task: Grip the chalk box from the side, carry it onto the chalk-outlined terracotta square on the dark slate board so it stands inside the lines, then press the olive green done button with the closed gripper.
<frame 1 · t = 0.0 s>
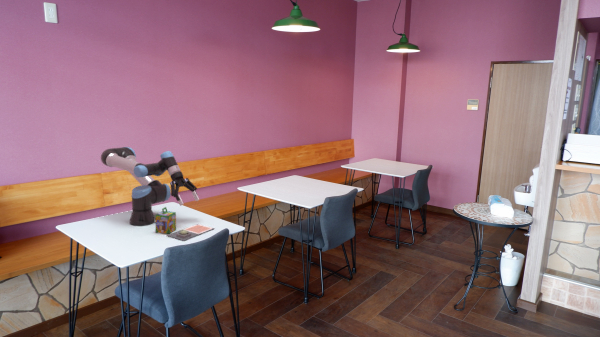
hand: (190, 202, 250), 15 cm above the table, tool tilted 35°, fingers open, 13 cm apart
chalk box: (166, 231, 241), on the table
done button: (183, 232, 232), point 3 cm above the table, slide at 0.0 cm
slate board: (191, 232, 240), on the table
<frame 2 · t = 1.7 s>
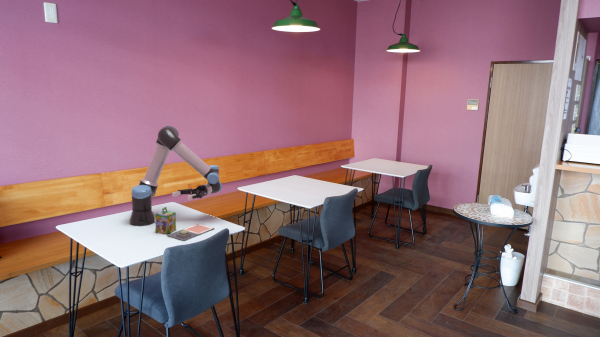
hand: (180, 196, 247), 20 cm above the table, tool horizontal, fingers open, 13 cm apart
nothing on the table moved.
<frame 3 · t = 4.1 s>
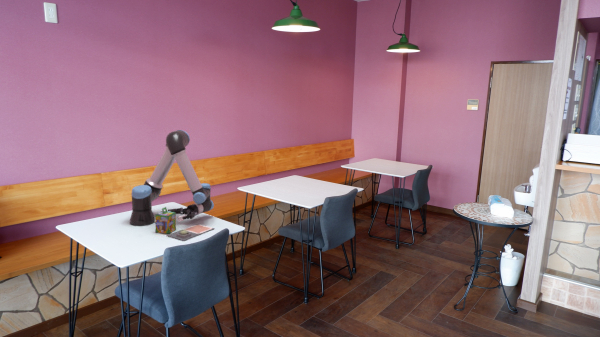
hand: (170, 217, 241), 8 cm above the table, tool horizontal, fingers open, 13 cm apart
chalk box: (166, 231, 241), on the table, touching gripper
everything else where it was.
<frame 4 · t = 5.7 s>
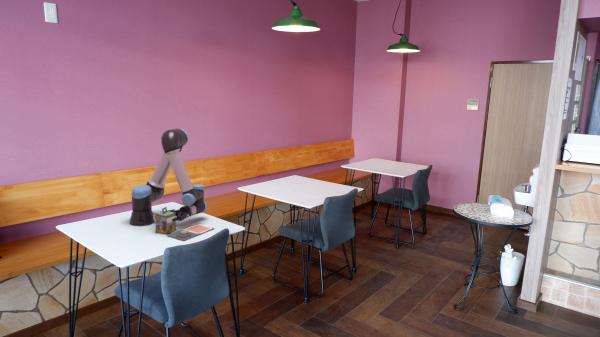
hand: (160, 219, 236), 9 cm above the table, tool horizontal, fingers closed on chalk box, 11 cm apart
chalk box: (166, 231, 241), on the table, touching gripper
everything else where it was.
when the fingers open (10 cm above the table, at t = 11.4 s): chalk box drops 1 cm, resting on slate board.
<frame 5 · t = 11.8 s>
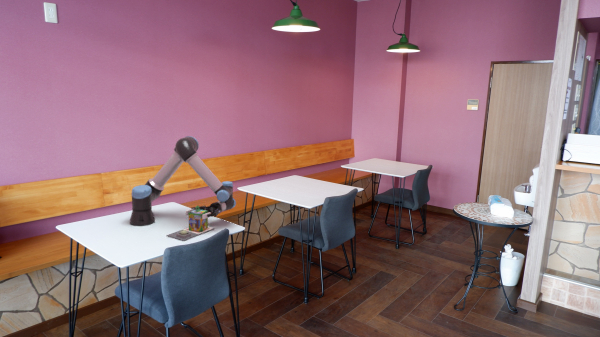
hand: (194, 215, 240), 10 cm above the table, tool horizontal, fingers open, 13 cm apart
chalk box: (198, 229, 245), point 1 cm above the table, touching slate board
everything else where it was.
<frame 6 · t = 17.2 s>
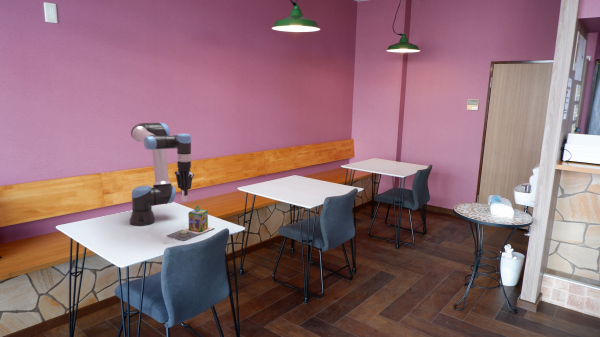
hand: (184, 200, 229), 22 cm above the table, tool pointing down, fingers closed
nothing on the table moved.
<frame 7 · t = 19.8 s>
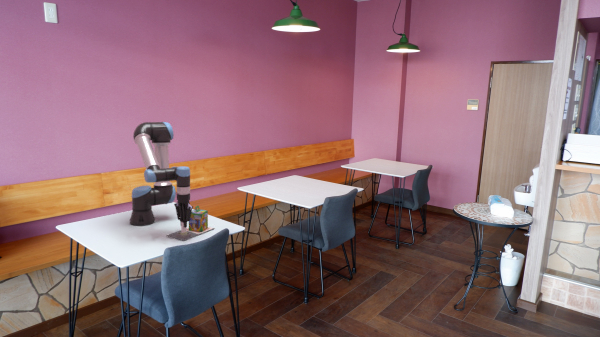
hand: (183, 232, 232), 3 cm above the table, tool pointing down, fingers closed
done button: (183, 234, 232), point 2 cm above the table, slide at 0.8 cm, touching gripper
everything else where it was.
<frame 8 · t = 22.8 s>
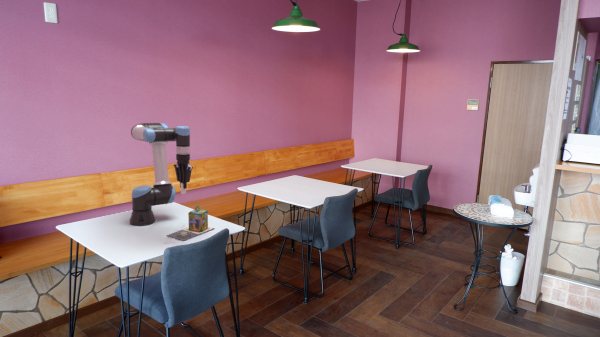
hand: (183, 193, 227), 26 cm above the table, tool pointing down, fingers closed
done button: (183, 234, 232), point 2 cm above the table, slide at 0.9 cm
everything else where it was.
at the end: chalk box 0.6 cm from the target spot, point 0.5 cm above the table; chalk box tilted 0°; done button slide at 0.9 cm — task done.
